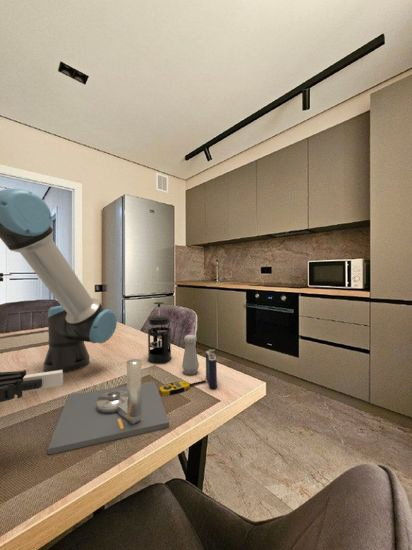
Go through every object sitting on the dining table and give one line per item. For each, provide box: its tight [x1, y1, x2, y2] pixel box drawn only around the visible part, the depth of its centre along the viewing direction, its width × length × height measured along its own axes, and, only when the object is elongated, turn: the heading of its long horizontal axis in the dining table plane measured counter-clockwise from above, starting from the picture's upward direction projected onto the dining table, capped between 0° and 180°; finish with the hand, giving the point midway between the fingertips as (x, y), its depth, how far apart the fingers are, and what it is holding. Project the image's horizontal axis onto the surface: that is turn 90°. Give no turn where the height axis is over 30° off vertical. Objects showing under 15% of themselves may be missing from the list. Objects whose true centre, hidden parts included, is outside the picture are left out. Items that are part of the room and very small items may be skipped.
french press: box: [147, 301, 173, 365], centre depth 98 cm, size 12×9×23 cm
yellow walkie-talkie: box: [158, 379, 207, 397], centre depth 75 cm, size 5×2×15 cm
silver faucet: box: [97, 358, 143, 424], centre depth 61 cm, size 16×8×14 cm, turn 48°
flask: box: [205, 349, 218, 391], centre depth 78 cm, size 9×3×11 cm, turn 8°
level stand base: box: [47, 380, 170, 455], centre depth 63 cm, size 22×24×1 cm
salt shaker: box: [182, 334, 200, 376], centre depth 86 cm, size 6×6×13 cm
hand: (62, 377), depth 51 cm, fingers closed
